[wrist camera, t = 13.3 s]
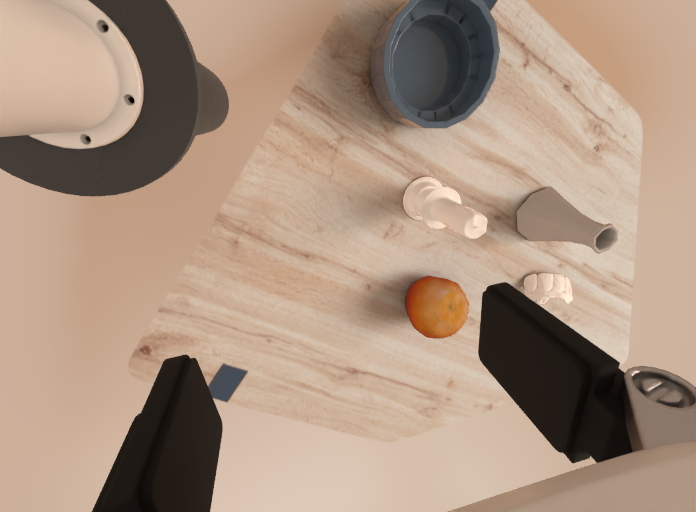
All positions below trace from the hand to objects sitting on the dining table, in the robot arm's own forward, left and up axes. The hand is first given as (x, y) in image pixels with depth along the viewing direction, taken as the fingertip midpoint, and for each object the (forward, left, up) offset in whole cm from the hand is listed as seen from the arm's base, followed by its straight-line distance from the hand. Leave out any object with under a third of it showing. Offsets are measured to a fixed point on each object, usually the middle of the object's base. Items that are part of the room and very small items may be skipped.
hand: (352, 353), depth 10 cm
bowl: (+8, +16, -28) cm, 33 cm away
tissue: (+40, -1, -28) cm, 49 cm away
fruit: (+22, -8, -28) cm, 37 cm away
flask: (+32, +8, -28) cm, 44 cm away
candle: (+15, +4, -28) cm, 32 cm away
